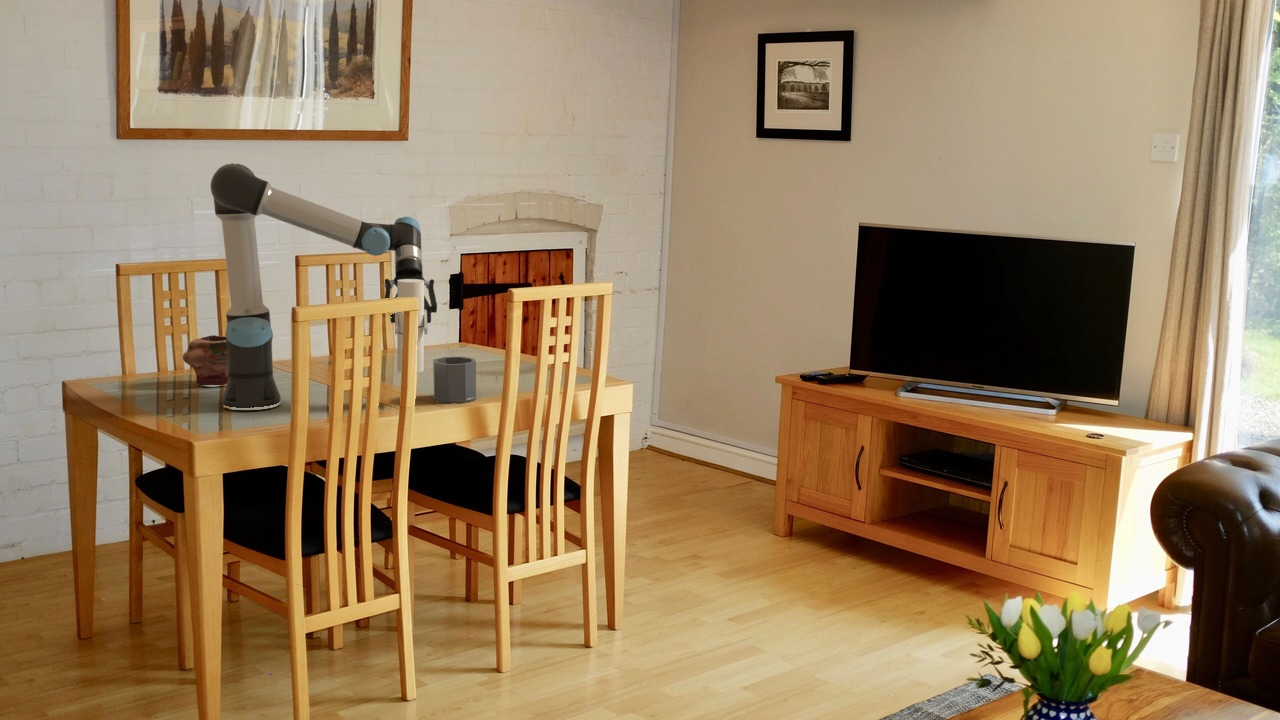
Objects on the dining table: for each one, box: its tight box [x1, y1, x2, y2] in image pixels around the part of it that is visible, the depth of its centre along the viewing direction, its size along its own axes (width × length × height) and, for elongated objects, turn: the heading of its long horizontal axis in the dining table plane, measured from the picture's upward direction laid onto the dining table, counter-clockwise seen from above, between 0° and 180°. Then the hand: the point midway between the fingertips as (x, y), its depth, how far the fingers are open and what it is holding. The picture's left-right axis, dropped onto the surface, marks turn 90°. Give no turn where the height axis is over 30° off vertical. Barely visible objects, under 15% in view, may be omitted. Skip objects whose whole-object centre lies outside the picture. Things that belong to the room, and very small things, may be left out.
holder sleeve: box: [432, 356, 477, 404], centre depth 348 cm, size 12×12×11 cm
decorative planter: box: [182, 334, 228, 386], centre depth 361 cm, size 20×12×14 cm, turn 121°
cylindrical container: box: [396, 279, 425, 374], centre depth 338 cm, size 7×7×25 cm
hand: (411, 331), depth 335 cm, fingers closed on cylindrical container, 7 cm apart
